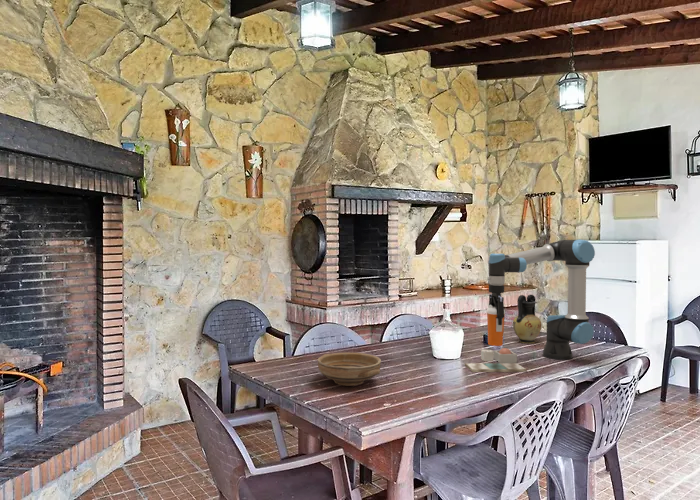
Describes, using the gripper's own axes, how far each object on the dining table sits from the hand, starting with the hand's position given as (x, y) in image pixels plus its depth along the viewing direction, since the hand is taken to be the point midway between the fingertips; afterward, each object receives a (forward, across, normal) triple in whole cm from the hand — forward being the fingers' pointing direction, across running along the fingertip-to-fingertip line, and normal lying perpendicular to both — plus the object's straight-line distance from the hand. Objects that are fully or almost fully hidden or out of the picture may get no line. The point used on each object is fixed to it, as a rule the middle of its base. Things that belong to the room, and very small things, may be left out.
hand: (495, 329), depth 248 cm
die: (+19, -18, +2) cm, 27 cm away
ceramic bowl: (+20, +21, -74) cm, 79 cm away
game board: (+19, 0, 0) cm, 19 cm away
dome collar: (+19, -16, +11) cm, 28 cm away
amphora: (+20, -64, +43) cm, 80 cm away
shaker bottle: (+8, 0, 0) cm, 8 cm away
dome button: (+19, -16, +11) cm, 27 cm away
